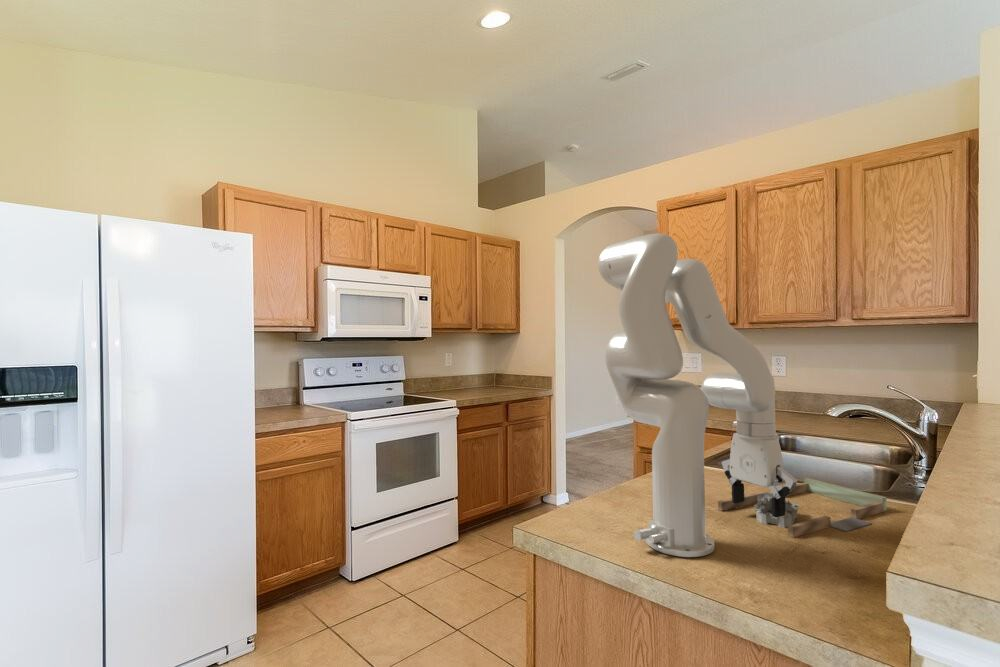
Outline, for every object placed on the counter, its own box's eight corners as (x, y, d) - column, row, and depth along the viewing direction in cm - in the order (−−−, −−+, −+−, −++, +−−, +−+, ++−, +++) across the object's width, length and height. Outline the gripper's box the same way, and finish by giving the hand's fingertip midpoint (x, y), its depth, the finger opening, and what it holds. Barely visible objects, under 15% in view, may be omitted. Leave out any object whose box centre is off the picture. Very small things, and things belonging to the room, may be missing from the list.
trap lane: (807, 543, 96) (807, 527, 96) (707, 506, 118) (707, 493, 118) (902, 514, 110) (901, 501, 110) (796, 486, 132) (796, 475, 132)
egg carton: (790, 531, 103) (790, 511, 103) (751, 522, 108) (750, 503, 108) (802, 516, 111) (801, 498, 111) (765, 509, 116) (764, 491, 116)
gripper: (710, 425, 114) (712, 500, 114) (781, 438, 98) (784, 525, 98) (733, 422, 117) (735, 495, 117) (806, 434, 101) (808, 518, 101)
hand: (757, 508), depth 108 cm, fingers open, 9 cm apart
